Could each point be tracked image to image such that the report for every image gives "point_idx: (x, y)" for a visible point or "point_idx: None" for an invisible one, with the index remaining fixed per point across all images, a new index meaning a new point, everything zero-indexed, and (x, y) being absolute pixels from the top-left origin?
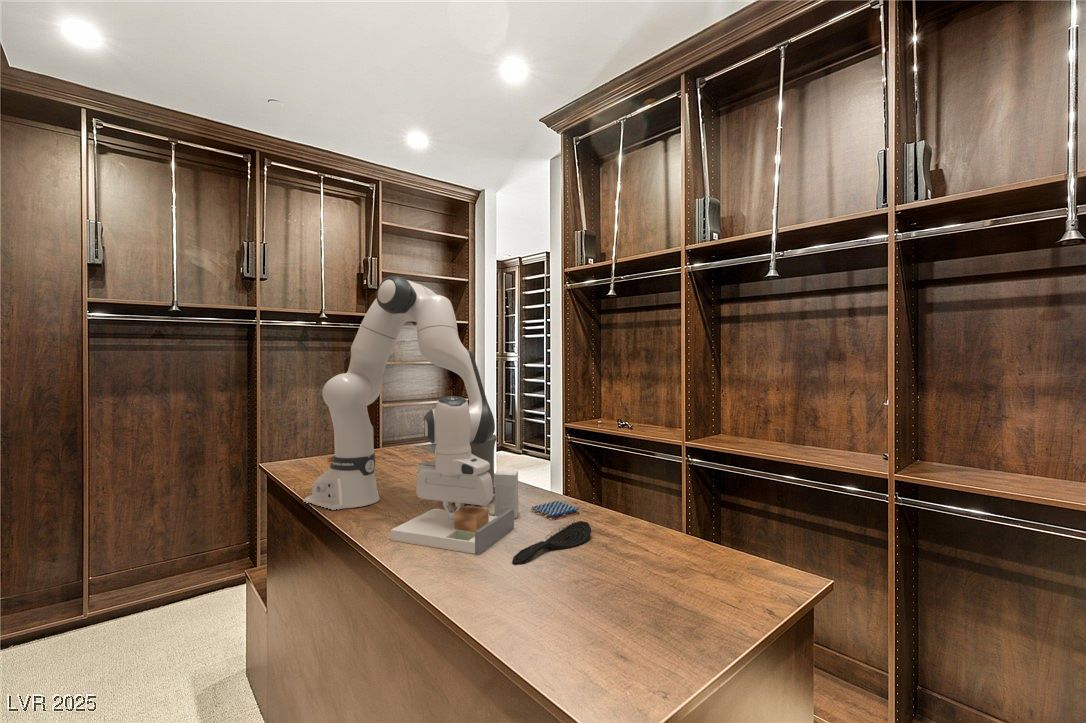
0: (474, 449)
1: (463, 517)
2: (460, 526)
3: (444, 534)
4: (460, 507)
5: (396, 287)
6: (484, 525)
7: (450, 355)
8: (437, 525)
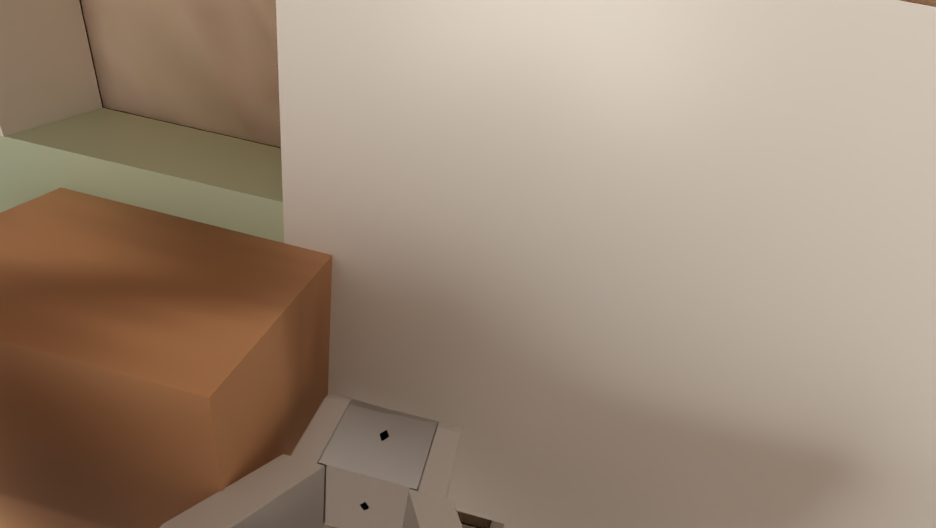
0: None
1: (87, 310)
2: (228, 255)
3: (349, 49)
4: (174, 526)
5: None
6: None
7: None
8: (579, 345)
